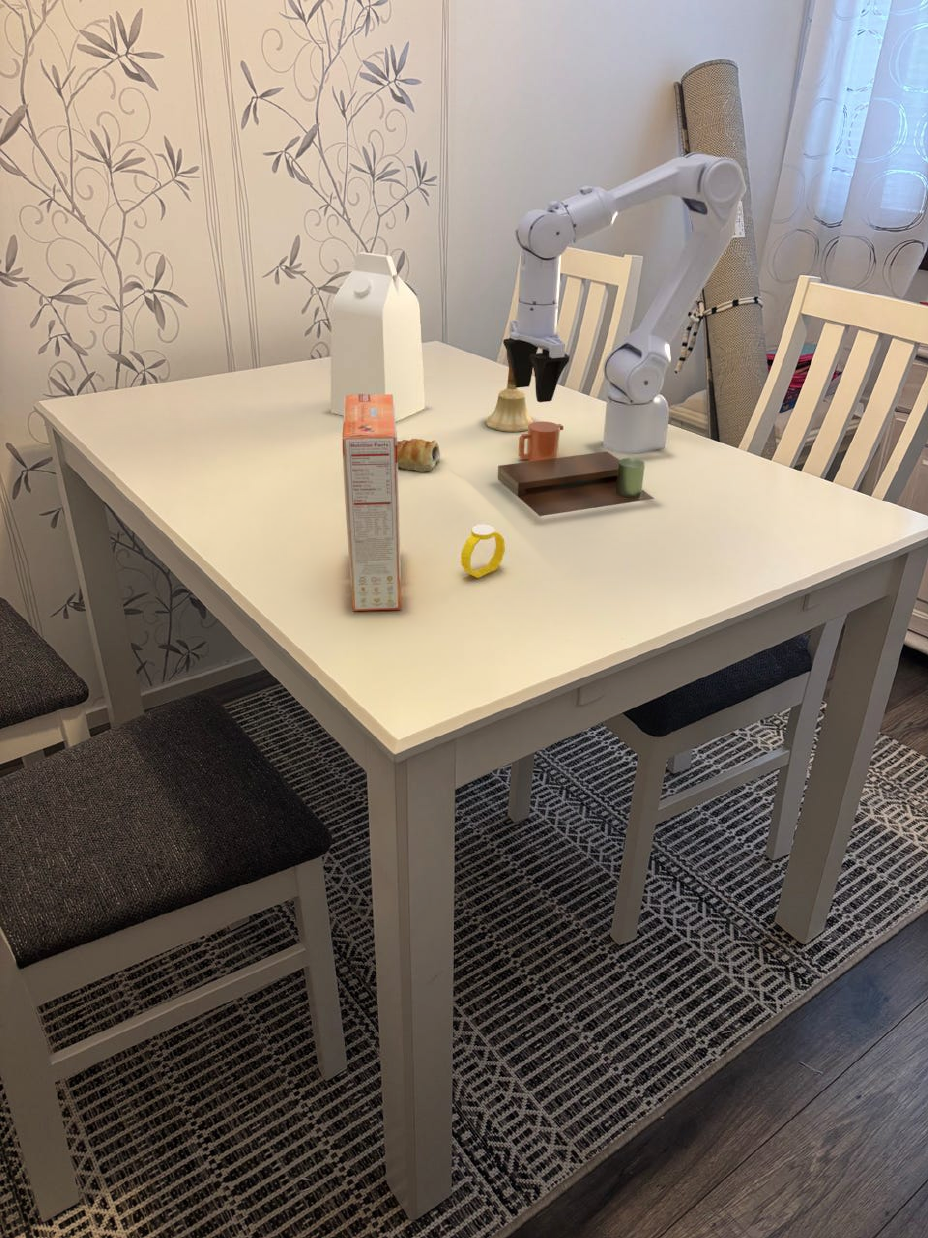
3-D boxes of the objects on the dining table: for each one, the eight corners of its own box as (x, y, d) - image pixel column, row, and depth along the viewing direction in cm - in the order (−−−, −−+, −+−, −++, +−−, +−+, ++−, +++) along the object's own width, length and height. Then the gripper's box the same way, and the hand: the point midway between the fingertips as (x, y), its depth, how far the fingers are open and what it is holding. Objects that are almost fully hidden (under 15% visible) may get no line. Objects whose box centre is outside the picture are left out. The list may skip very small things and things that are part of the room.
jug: (552, 456, 153) (554, 419, 150) (566, 466, 149) (569, 429, 146) (511, 461, 150) (513, 424, 147) (524, 472, 146) (526, 434, 143)
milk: (425, 408, 172) (425, 253, 159) (386, 425, 163) (382, 264, 150) (370, 396, 177) (366, 245, 164) (330, 412, 169) (322, 255, 156)
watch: (492, 562, 120) (494, 518, 117) (508, 570, 119) (510, 525, 116) (456, 576, 117) (457, 531, 114) (471, 585, 115) (473, 539, 112)
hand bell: (536, 418, 168) (542, 324, 160) (531, 434, 161) (537, 337, 153) (489, 414, 170) (492, 321, 162) (482, 430, 163) (485, 333, 155)
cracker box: (350, 557, 121) (343, 392, 110) (399, 556, 121) (396, 391, 111) (348, 613, 109) (339, 434, 98) (402, 612, 109) (399, 433, 99)
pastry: (371, 467, 147) (371, 443, 145) (384, 452, 153) (384, 429, 151) (432, 473, 145) (432, 449, 143) (442, 458, 151) (442, 434, 149)
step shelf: (605, 469, 148) (606, 451, 147) (653, 504, 137) (656, 484, 135) (497, 484, 142) (497, 465, 141) (539, 522, 131) (540, 502, 129)
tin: (632, 486, 140) (636, 456, 138) (646, 495, 137) (649, 465, 135) (611, 489, 139) (614, 459, 137) (623, 498, 136) (627, 468, 134)
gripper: (492, 291, 144) (489, 382, 151) (535, 313, 132) (529, 410, 139) (535, 289, 146) (530, 378, 153) (581, 310, 135) (573, 405, 141)
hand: (532, 393), depth 146 cm, fingers open, 7 cm apart
